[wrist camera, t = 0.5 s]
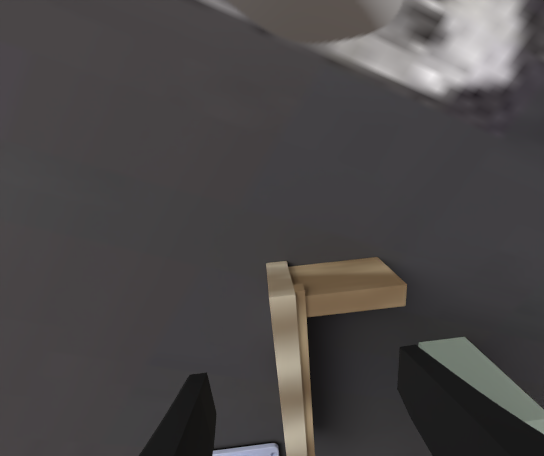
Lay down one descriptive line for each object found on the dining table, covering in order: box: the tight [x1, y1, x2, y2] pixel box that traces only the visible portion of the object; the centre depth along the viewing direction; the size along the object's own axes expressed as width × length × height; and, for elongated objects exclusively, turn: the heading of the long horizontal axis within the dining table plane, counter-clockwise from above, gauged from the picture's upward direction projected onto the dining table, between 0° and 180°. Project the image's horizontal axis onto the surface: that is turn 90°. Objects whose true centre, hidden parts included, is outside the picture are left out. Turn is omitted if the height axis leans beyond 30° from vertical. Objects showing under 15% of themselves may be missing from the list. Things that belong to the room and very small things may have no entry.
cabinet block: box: [419, 337, 544, 434], centre depth 20 cm, size 7×4×7 cm, turn 5°
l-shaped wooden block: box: [266, 257, 407, 456], centre depth 19 cm, size 16×8×4 cm, turn 5°
